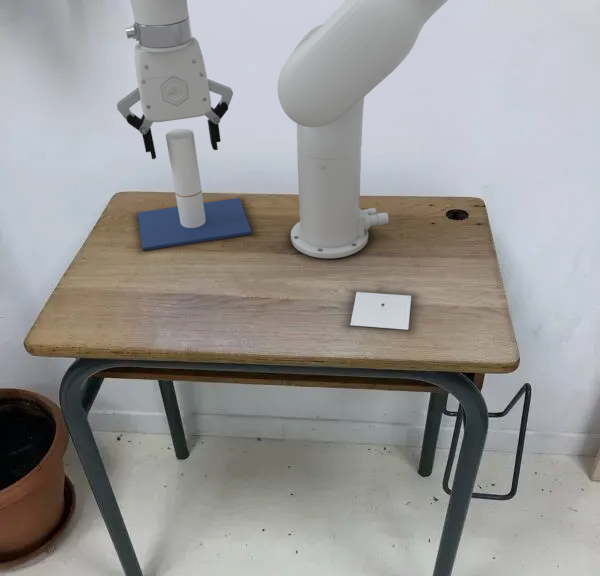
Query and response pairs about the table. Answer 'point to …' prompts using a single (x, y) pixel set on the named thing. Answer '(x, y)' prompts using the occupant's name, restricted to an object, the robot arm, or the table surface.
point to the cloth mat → (169, 232)
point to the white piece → (381, 310)
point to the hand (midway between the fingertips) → (184, 151)
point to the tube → (186, 177)
